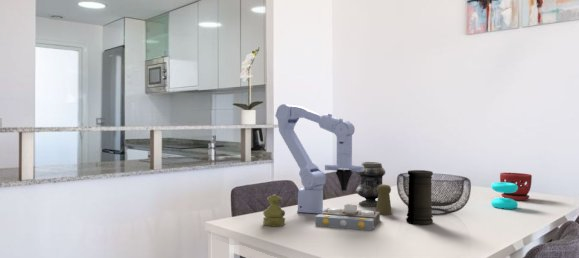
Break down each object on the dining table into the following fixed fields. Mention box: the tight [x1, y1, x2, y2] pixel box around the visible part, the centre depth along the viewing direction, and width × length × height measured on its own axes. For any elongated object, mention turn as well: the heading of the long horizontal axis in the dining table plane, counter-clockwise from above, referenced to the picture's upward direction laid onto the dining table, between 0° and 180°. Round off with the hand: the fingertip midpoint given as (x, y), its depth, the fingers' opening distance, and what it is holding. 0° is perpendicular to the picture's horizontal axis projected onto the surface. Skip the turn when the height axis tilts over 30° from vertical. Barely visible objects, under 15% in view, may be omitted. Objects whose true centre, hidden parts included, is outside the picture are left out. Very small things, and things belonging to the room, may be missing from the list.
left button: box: [328, 207, 341, 213], centre depth 160 cm, size 4×4×4 cm
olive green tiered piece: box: [262, 194, 286, 228], centre depth 152 cm, size 7×7×10 cm
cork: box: [375, 184, 393, 216], centre depth 172 cm, size 6×6×11 cm
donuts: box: [490, 181, 519, 210], centre depth 187 cm, size 10×10×10 cm
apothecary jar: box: [355, 161, 386, 207], centre depth 191 cm, size 12×12×18 cm
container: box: [405, 169, 434, 226], centre depth 157 cm, size 9×9×18 cm
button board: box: [321, 207, 381, 227], centre depth 158 cm, size 19×10×3 cm, turn 70°
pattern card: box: [315, 214, 375, 231], centre depth 150 cm, size 19×4×3 cm, turn 70°
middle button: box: [343, 203, 358, 214], centre depth 158 cm, size 4×4×4 cm
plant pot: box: [499, 172, 533, 201], centre depth 208 cm, size 13×13×12 cm
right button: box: [361, 210, 375, 216], centre depth 156 cm, size 4×4×4 cm
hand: (344, 190), depth 168 cm, fingers closed
